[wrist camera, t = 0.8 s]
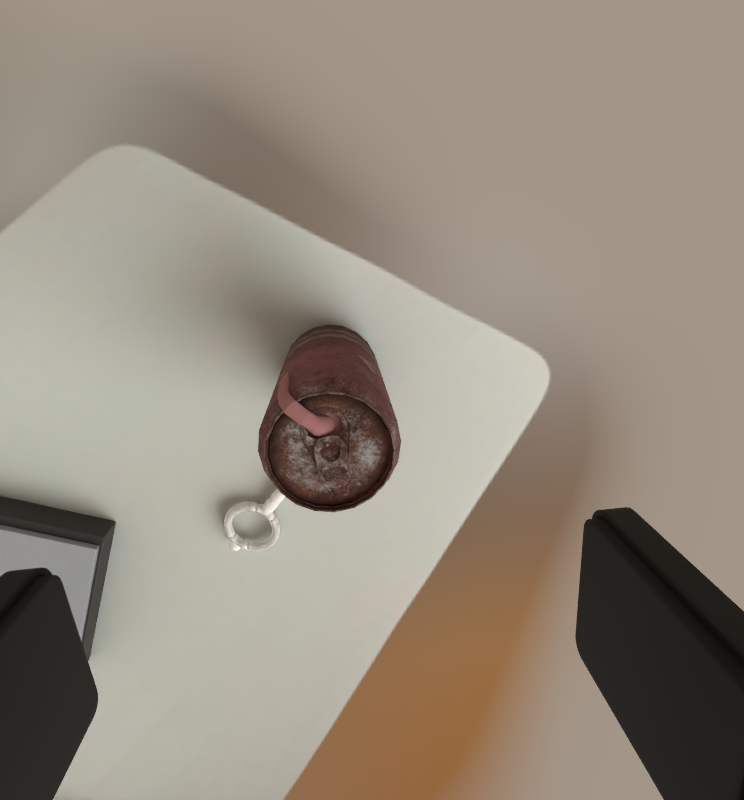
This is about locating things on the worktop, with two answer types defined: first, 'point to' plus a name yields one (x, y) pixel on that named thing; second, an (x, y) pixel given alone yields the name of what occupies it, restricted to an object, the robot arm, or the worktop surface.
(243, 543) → the key
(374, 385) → the can
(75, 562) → the scale
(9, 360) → the worktop surface
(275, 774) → the worktop surface
